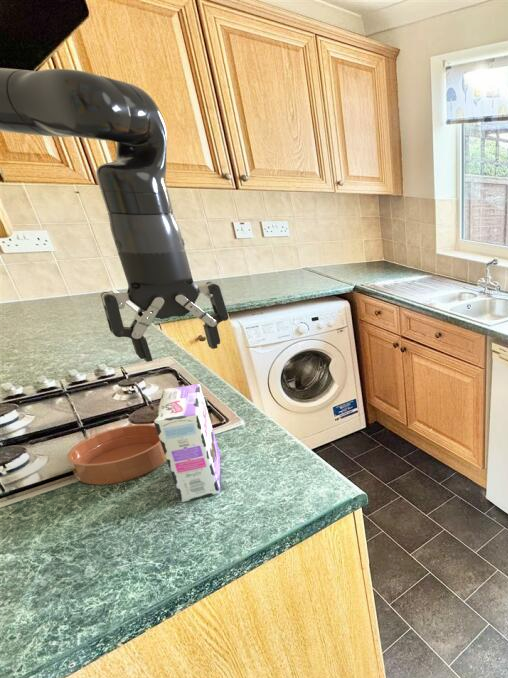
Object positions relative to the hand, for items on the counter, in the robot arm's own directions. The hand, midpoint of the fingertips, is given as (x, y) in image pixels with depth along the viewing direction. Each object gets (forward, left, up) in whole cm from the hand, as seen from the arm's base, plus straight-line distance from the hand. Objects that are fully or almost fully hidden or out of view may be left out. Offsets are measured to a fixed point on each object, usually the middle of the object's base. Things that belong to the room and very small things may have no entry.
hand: (182, 353), depth 66 cm
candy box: (-4, +3, -26) cm, 27 cm away
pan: (-20, +9, -26) cm, 34 cm away
